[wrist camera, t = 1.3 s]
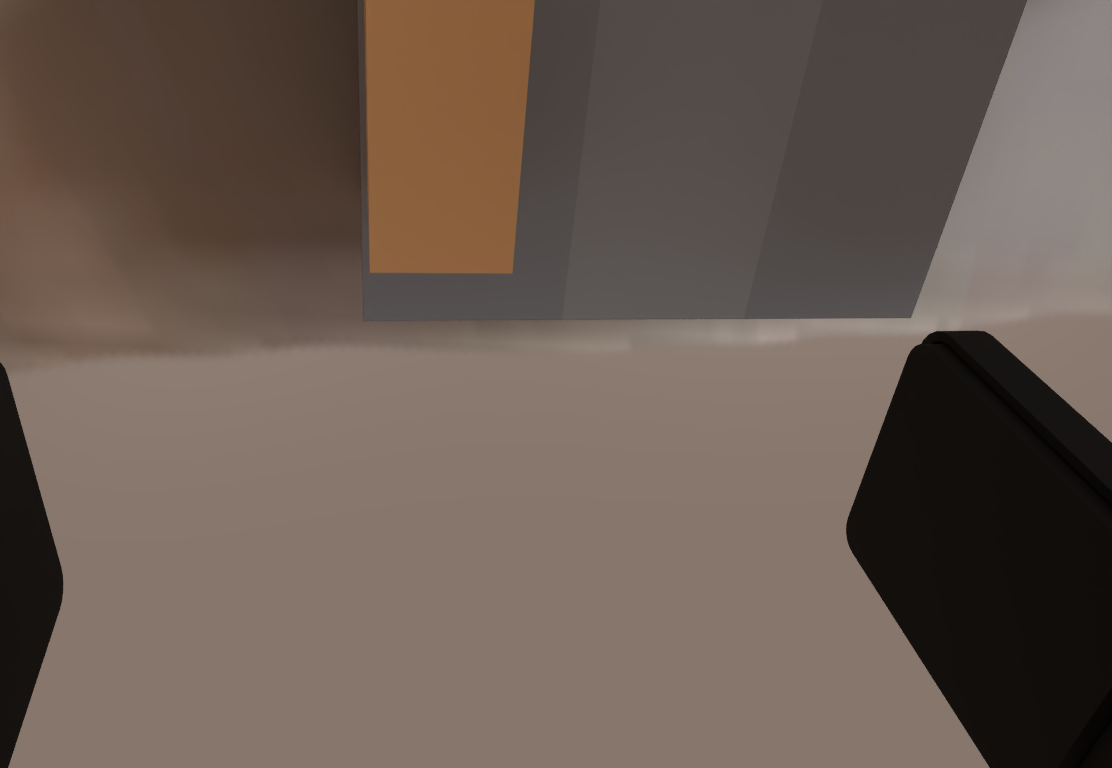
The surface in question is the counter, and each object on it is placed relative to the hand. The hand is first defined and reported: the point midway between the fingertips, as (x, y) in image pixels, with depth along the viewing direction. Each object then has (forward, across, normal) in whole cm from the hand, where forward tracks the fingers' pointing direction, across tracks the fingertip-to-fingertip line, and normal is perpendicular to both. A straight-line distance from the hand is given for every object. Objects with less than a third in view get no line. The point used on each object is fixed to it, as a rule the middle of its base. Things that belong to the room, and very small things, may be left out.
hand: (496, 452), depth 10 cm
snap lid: (+16, -7, 0) cm, 17 cm away
